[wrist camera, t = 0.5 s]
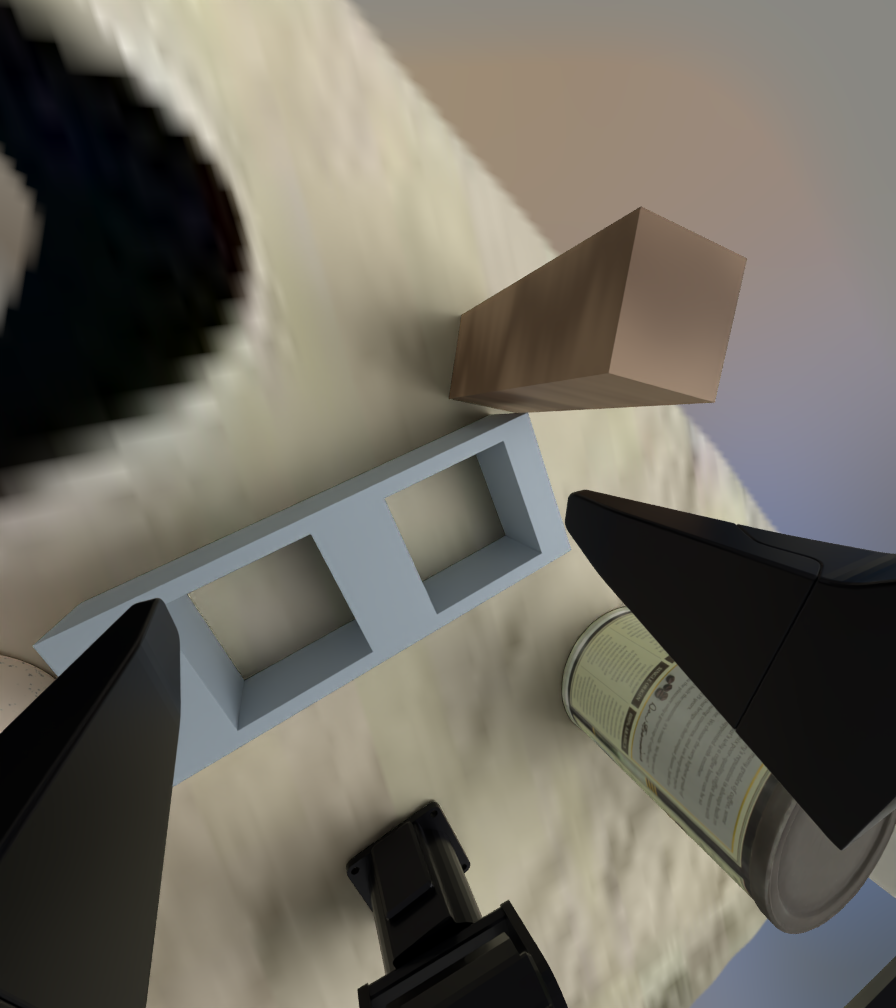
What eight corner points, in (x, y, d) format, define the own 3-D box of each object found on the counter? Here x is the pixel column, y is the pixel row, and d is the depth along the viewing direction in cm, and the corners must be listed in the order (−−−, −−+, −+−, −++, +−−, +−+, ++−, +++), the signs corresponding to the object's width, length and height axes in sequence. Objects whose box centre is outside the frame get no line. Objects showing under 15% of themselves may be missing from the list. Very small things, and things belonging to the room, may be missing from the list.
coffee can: (683, 610, 34) (934, 725, 21) (647, 730, 35) (866, 912, 22) (581, 597, 30) (815, 729, 17) (544, 734, 31) (738, 960, 18)
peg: (518, 412, 25) (714, 402, 14) (448, 398, 24) (608, 372, 12) (531, 335, 25) (746, 258, 13) (461, 315, 23) (641, 206, 12)
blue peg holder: (491, 414, 25) (527, 412, 21) (531, 533, 27) (571, 549, 24) (79, 603, 19) (32, 645, 15) (178, 732, 21) (157, 795, 18)
